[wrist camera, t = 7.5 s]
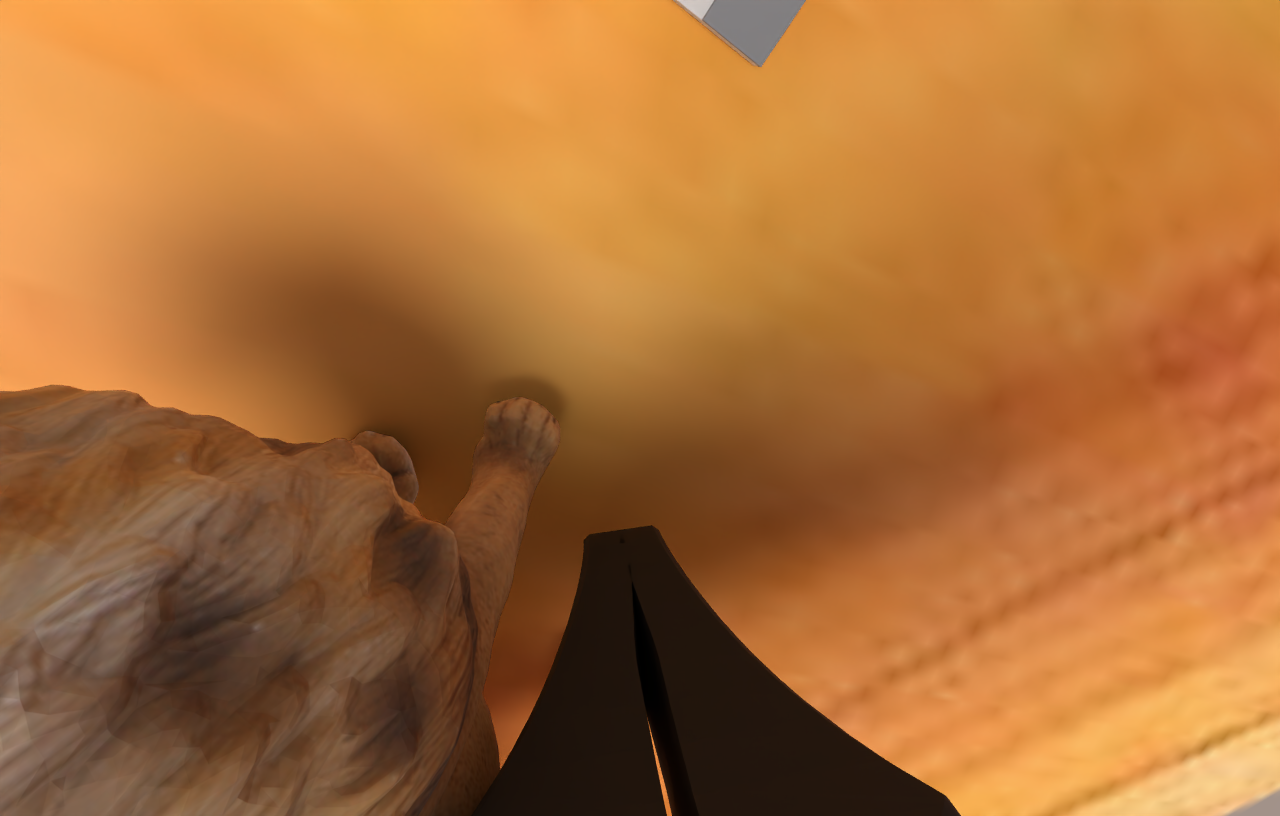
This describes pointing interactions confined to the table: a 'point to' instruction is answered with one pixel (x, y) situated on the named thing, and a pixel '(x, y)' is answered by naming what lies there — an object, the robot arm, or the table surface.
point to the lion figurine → (246, 613)
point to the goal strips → (745, 23)
